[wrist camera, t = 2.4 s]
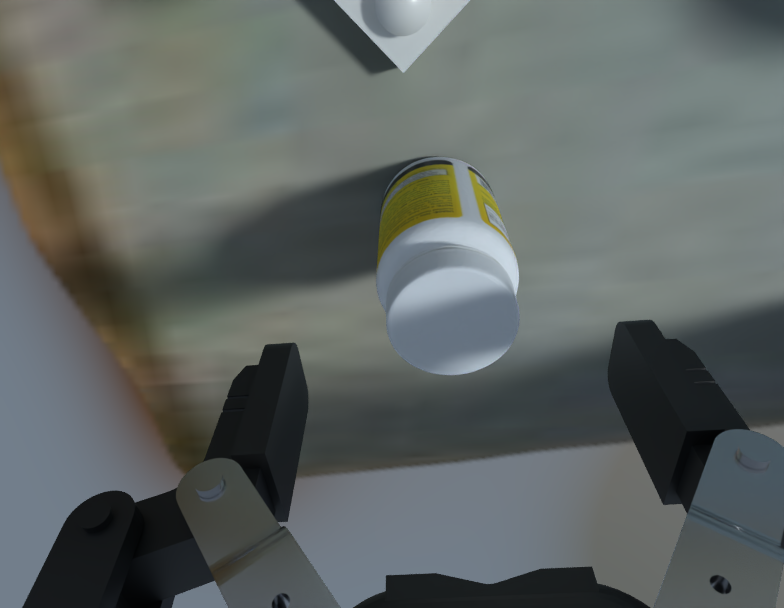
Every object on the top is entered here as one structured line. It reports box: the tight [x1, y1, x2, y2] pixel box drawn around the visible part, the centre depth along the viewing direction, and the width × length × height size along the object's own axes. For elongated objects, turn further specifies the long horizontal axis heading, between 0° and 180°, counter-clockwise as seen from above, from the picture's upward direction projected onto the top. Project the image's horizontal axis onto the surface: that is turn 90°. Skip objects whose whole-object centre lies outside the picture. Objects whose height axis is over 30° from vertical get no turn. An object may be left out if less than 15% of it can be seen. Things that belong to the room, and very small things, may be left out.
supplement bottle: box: [376, 157, 520, 375], centre depth 19 cm, size 5×5×8 cm
